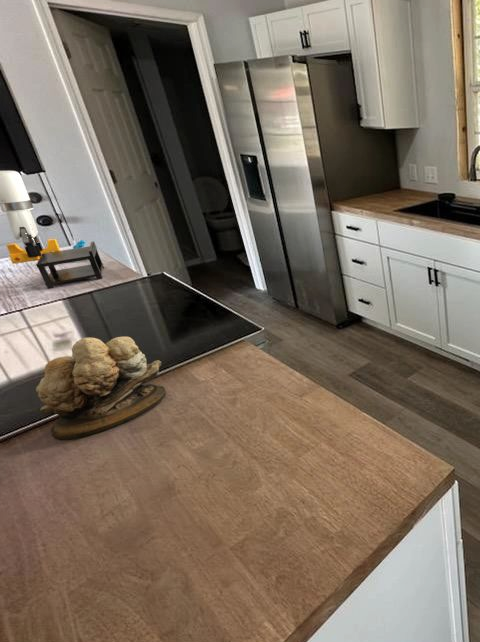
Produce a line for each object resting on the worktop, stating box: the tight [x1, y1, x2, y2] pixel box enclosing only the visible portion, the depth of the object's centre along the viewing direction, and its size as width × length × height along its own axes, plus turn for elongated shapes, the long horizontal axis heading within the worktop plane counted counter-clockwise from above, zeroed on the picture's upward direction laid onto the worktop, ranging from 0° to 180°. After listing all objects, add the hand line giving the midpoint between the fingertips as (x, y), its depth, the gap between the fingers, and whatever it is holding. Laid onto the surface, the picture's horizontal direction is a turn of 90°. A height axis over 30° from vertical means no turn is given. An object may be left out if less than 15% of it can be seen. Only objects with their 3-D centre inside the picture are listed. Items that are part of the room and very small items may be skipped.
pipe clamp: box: [6, 238, 61, 264], centre depth 152 cm, size 12×4×6 cm, turn 130°
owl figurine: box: [35, 336, 167, 441], centre depth 79 cm, size 18×12×17 cm, turn 137°
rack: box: [36, 240, 105, 290], centre depth 149 cm, size 14×16×11 cm
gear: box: [72, 239, 89, 261], centre depth 169 cm, size 11×6×10 cm
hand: (36, 254), depth 153 cm, fingers closed on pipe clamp, 4 cm apart
